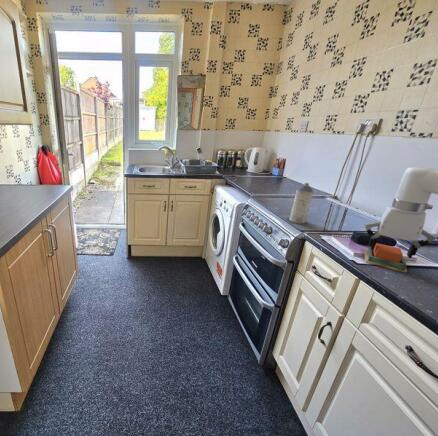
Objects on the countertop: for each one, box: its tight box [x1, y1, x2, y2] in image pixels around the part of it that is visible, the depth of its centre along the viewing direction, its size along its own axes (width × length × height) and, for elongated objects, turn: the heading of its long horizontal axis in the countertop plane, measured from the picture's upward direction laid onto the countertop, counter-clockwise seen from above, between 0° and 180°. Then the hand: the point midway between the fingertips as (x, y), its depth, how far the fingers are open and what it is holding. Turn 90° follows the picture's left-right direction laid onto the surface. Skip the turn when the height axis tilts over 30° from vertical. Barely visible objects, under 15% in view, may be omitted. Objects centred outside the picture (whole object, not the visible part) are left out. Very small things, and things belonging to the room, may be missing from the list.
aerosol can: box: [288, 182, 314, 225], centre depth 120 cm, size 7×7×20 cm
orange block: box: [372, 242, 404, 263], centre depth 87 cm, size 6×6×4 cm
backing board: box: [363, 246, 408, 274], centre depth 88 cm, size 11×11×3 cm
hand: (389, 252), depth 86 cm, fingers open, 9 cm apart
